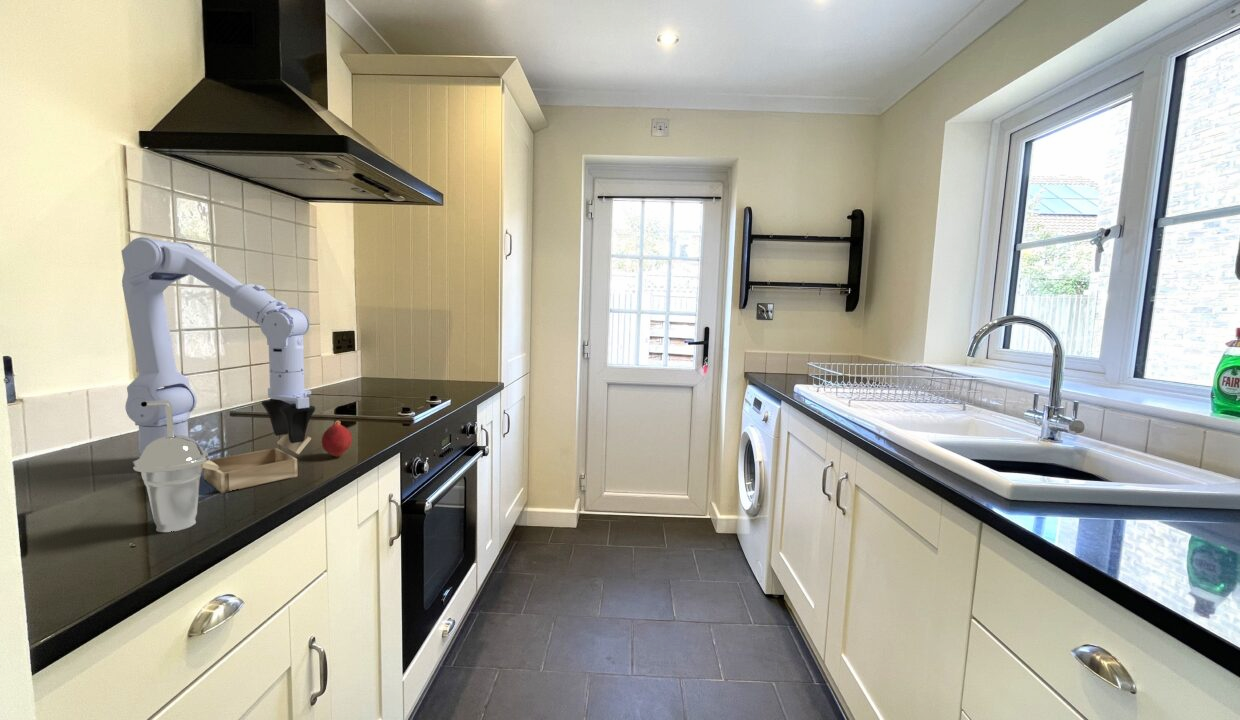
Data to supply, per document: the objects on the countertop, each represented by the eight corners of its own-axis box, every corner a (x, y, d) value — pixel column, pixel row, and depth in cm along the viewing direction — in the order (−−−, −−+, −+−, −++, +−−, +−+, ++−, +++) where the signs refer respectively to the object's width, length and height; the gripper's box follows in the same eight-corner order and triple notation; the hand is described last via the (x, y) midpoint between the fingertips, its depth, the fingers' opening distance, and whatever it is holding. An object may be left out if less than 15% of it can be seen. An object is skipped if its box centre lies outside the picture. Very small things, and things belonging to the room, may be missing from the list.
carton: (203, 478, 95) (202, 460, 95) (276, 464, 105) (275, 447, 104) (222, 494, 89) (221, 474, 88) (298, 476, 98) (298, 459, 98)
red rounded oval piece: (339, 462, 108) (338, 425, 107) (315, 459, 109) (314, 422, 108) (358, 454, 113) (357, 419, 112) (335, 451, 115) (335, 417, 114)
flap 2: (289, 427, 105) (292, 429, 106) (276, 442, 104) (280, 444, 104) (308, 436, 100) (311, 438, 100) (295, 452, 98) (298, 454, 99)
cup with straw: (226, 518, 80) (220, 392, 77) (162, 544, 71) (153, 403, 69) (185, 510, 82) (178, 387, 79) (117, 535, 73) (107, 397, 71)
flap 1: (203, 455, 94) (200, 459, 94) (180, 449, 91) (178, 454, 91) (219, 466, 89) (216, 470, 89) (195, 460, 86) (193, 465, 86)
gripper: (325, 373, 99) (326, 441, 100) (294, 364, 107) (296, 428, 109) (284, 376, 93) (286, 448, 95) (255, 367, 102) (257, 433, 103)
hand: (289, 438), depth 101 cm, fingers open, 7 cm apart
